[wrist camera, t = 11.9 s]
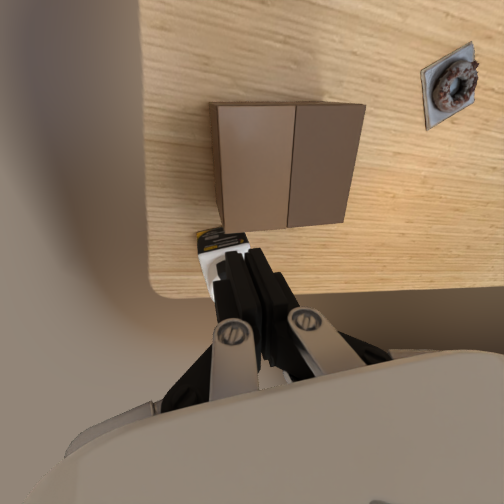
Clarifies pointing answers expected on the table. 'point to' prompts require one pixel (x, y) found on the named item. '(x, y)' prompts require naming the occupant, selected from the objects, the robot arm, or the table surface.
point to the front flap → (255, 166)
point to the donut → (449, 85)
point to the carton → (310, 159)
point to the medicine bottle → (218, 253)
